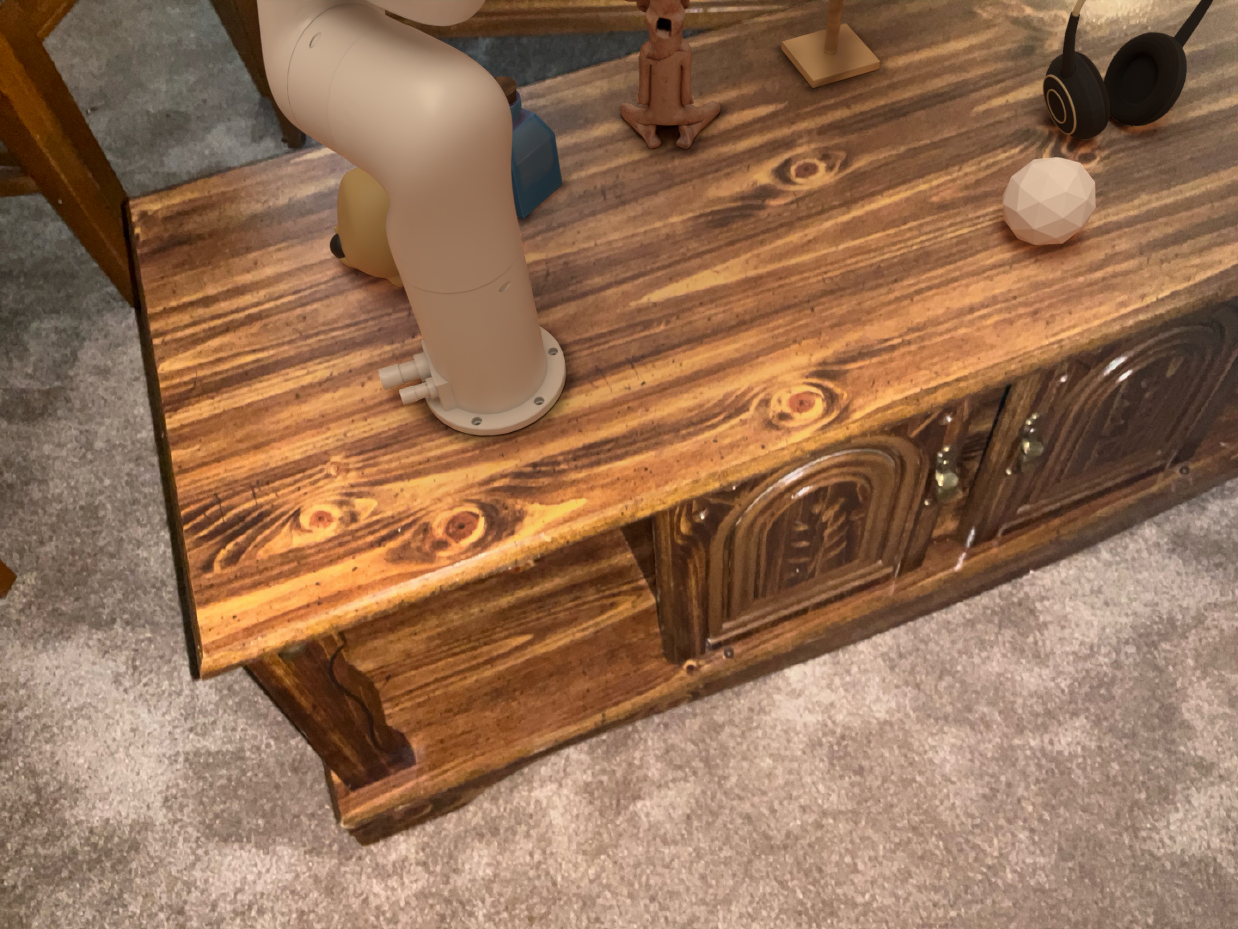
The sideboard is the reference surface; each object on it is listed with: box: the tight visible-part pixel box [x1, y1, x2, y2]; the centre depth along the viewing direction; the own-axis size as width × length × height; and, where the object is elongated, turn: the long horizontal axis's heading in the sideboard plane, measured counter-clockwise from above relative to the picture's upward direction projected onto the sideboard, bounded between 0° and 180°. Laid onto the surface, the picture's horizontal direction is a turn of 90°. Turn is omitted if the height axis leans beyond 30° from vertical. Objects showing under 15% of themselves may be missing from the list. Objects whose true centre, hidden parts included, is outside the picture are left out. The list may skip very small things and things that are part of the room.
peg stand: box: [780, 0, 881, 89], centre depth 102 cm, size 8×8×11 cm
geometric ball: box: [1002, 156, 1097, 246], centre depth 86 cm, size 8×8×8 cm
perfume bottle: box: [493, 75, 563, 220], centre depth 93 cm, size 6×6×12 cm
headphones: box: [1042, 0, 1214, 141], centre depth 89 cm, size 9×15×20 cm, turn 105°
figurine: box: [619, 0, 721, 150], centre depth 94 cm, size 10×8×20 cm
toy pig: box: [329, 166, 404, 288], centre depth 90 cm, size 10×12×11 cm
